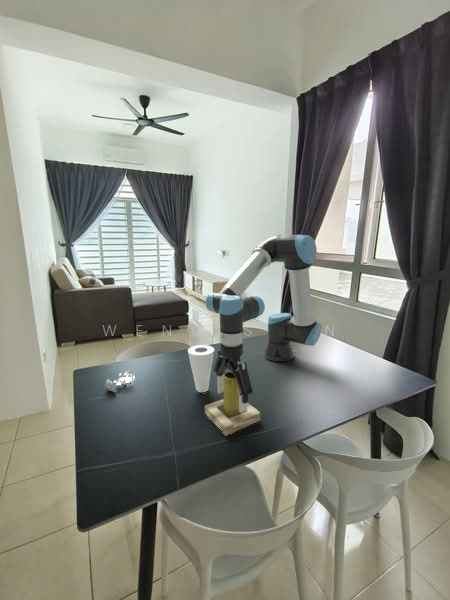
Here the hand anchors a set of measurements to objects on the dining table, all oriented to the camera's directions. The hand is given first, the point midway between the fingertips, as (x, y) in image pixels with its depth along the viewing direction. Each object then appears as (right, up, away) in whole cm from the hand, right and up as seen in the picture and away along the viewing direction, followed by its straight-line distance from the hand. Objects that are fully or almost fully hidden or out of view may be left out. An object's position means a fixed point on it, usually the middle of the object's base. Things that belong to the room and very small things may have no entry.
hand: (231, 400), depth 99 cm
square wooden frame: (0, -7, +1) cm, 7 cm away
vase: (0, -5, +1) cm, 5 cm away
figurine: (-46, -3, +23) cm, 52 cm away
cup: (-12, -3, +20) cm, 23 cm away
